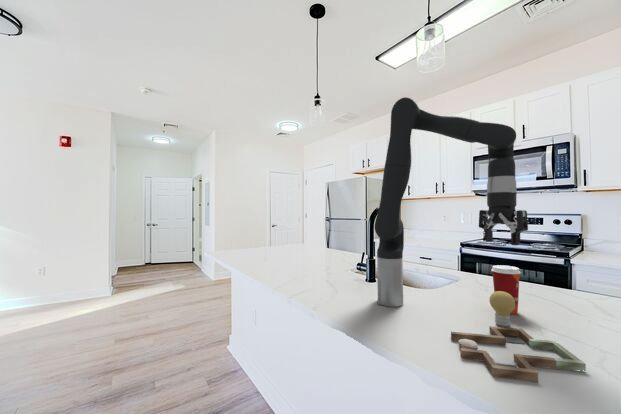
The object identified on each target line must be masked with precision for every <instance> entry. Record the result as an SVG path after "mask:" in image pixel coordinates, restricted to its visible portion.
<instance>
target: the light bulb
mask: <svg viewBox="0 0 621 414" xmlns="http://www.w3.org/2000/svg"><path fill="white" fill-rule="evenodd" d="M489 304H490V306H491V308H492V309H493V310H494V312H495V313H494V321H495V324H497V325H498V326H499V327H505V328H508V327H509V326H510V325H511V314H510V313H511V312H512V311H513V310H514V308H515V300H514V298H513V297H512V296H511V295H510V294H509V293H506V292H503V291H496V292H494V291H493V292H492V293H491V294H490V297H489Z"/></svg>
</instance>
